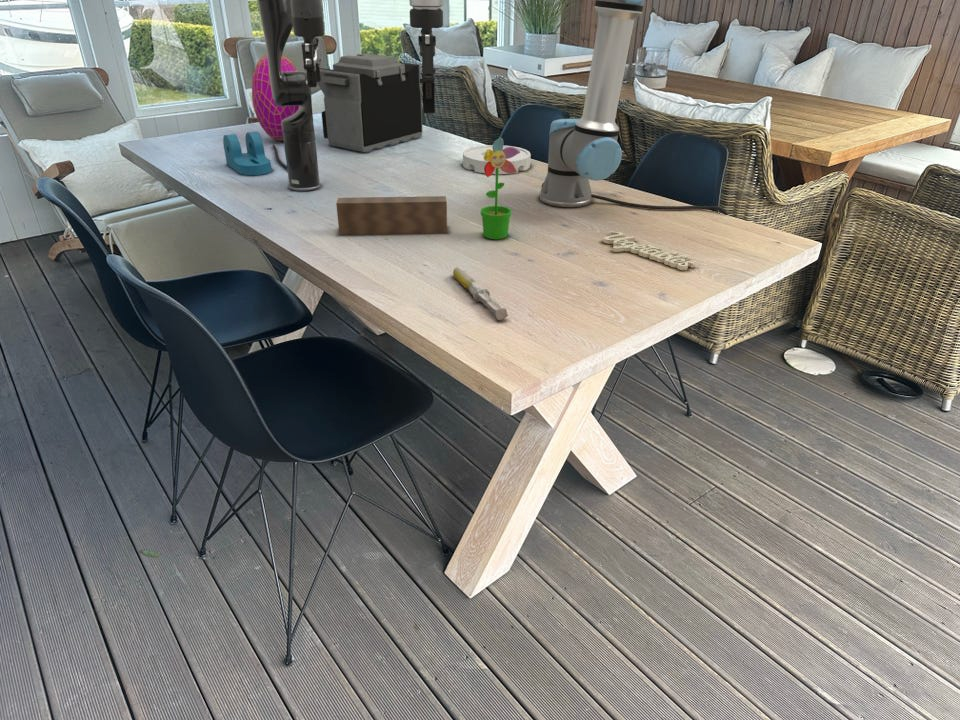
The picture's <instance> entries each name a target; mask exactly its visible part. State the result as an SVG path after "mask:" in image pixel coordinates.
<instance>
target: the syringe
mask: <svg viewBox="0 0 960 720" xmlns="http://www.w3.org/2000/svg"><path fill="white" fill-rule="evenodd" d="M452 274H453V277H454V279H455V280H457V281H458V282H459V283H460V285H462V287H464V289H466V290H467V291H468V293H470V295H471V296H472V298H473V300H474V302H477V303H478V302H480V303H482V304H483V305H484V306H485V307H486V308H487V309H488V310H489V311H490V312H491V313H492V314H493V315H494V316H495V317H496V320H497V321H503V320H504V319H506V318H507V317H509V314H508V310H507V308H506V307H502V306H501V305H500V303H498V302H497V301H496V300H494V299H493V298H492V297H491V296H490V295H491V293H490V290H488V289H486V288H483V287H482V286H481V285H480V284H479V283H478V282H477V281H476V280H474V278H473V277H471V275H469V274H468V273H467V272H466V270H465V269H464V268H463V267H462V266H456V267H454V268H453V271H452Z"/></svg>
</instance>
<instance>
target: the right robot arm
mask: <svg viewBox="0 0 960 720" xmlns="http://www.w3.org/2000/svg"><path fill="white" fill-rule="evenodd" d="M646 1H647V0H595V3H594V10H595V11H596V12H597V14H598V23H597V28H596V34H595V40H594V46H593V52H592V58H591V64H590V69H589V76H588V81H587V87H586V91H585V92H586V93H585V99H584V105H583V110H582V111H583V112H582V116H581V117H580V118H560V119H554V120H552V122H551V124H550V127H549V128H550V129H549V133H548V136H549V141H548V142H549V143H548V156H547V158H548V159H547V173H546V176H545V178H544V181H543V182H542V184H541V186H540V192H539V200H540V202H542V203H543V204H546V205H549V206H553V207H558V208H559V207H560V208H580V207H584V206H588V205H589V204H591V203H592V199H596V200H600V201H606V202H609V203H612V204H616V205H622V206H626V207H632V208H639V209H646V210H647V209H650V210H667V211H668V210H670V211H671V210H673V211H674V210H676V211H677V210H679V211H681V210H716V211H718V212H720V213H722V214H723V215H724V216H729V213H728V211H727V210H725V209H724V208H723V207H721V206H718V205H650V204H640V203H633V202H629V201H623V200H619V199H615V198H610V197H606V196H603V195H598V194H593V193H592V188H591V184H590V181H593V182H595V181H597V182H598V181H602V180H605V179H607V178H609V177H610V176H611V175H613V174H614V173H615V172H616V171H617V169H618V168H619V166H620V164H621V161H622V158H623V152H622V148H621V145H620V144H619V142H618V138H619V132H620V127H619V126H618V124H617V123H616V117H617V113H618V112H617V111H618V107H619V103H620V102H619V101H620V96H621V92H622V86H623V81H624V77H625V76H624V75H625V71H626V66H627V61H628V55H629V50H630V44H631V41H632V40H631V39H632V34H633V28H634V23H635V21H636V19H637V18H639V17H640V16H641V15H642V14H643V11H644V5H645V2H646ZM408 3H409V6H410V7H412V8H410V9H409V26H410V27H411V28H414V29H420V34H421V35H418V37H417V38H418V42H417V43H418V46H419V55H420V57H421V68H422V69H421V72H422V73H421V78H420V84H421V86H422V87H421V93H422V114H436V102H435V101H436V98H435V97H436V96H435V95H436V94H435V93H436V91H435V90H436V89H435V80H436V79H435V74H436V68H435V67H434V66H435V65H434V64H435V63H434V57H435V56H436V45H437V38H436V35H434V34H433V29H441V28H443V26H444V10H443V9H442V8H441V7H443V6H444V0H409V2H408Z"/></svg>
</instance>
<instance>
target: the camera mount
mask: <svg viewBox="0 0 960 720" xmlns="http://www.w3.org/2000/svg"><path fill="white" fill-rule="evenodd" d="M222 140H223V141H222V143H223V149H224V150H223V151H224V156H225V161H226V165H227V166H228V167H230V168H231V169H232V170H234V171H236V172H237V173H238V174H239V175H244V176H260V175H265V174H268V173H271V172H272V164H271V159H270V158H268V157H267V156H266V153H265V145H264V141H263V139H262V136H261V134H260V132H258V131H247V132H246V133H245V146H246V152H243V151H242V150H243V149H242V146H241V142H240V140H239V138H238V135H236V134H235V133H231V134H224V135H223V138H222Z"/></svg>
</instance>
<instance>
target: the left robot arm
mask: <svg viewBox="0 0 960 720" xmlns="http://www.w3.org/2000/svg"><path fill="white" fill-rule="evenodd" d="M257 5H258V11H259V17H260V23H261V27H262V32H263V37H264V42H265V43H264V44H265V48H266V49H265V50H266V56H267V58H268V66H269V75H270V84H271V91H272V96H273V99H274V102H275V104H276V105H277V106H281V107H282V106H298V105H299V109H298V110H297V111H296V112H295V113H294V114H292V115H290V116H288V117H286V118H284V119H283V120H282V122H281V126H282V133H283V141H282V142H283V148H284V155H285V162H283V161H282V160H281V159H280V156H279V153H278V148H277V146H276V144H272V148H273V150H274V154H275V158H276V161H277V162H278V163H279V164H280V165H281V166H282V167H283V168H284V169H285V170H286V171H287V178H288V179H287V180H288V188H289V189H290V190H292V191H296V192H307V191H308V192H309V191H314V190H316V189H317V190H318V189H319V188H321V182H320V181H321V180H320V172H319V163H318V153H317V144H316V135H315V126H314V114H313V103H312V102H313V99H312V88H317V86H318V84H317V82H320V81H321V76H320V68H321V67H320V66H321V61H322V59H321V51H320V47H321V46H320V43H319V42H320V39H319V38H318V37H323V36H325V25H324V24H325V23H324V13H323V5H322V0H257ZM292 30H293V35H294V36H295V37H298V38H299V37H300V38H302V39H303V42H302V43H301V45H300V46H301V52H302V53H301V54H302V61H303V62H302V63H303V69H304V70H297V71H288V72H281V58H282V56H283V53H284V50H285V47H286V45H287V42H288V41H289V37H290V35H291V32H292ZM285 163H286V164H285Z"/></svg>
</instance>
